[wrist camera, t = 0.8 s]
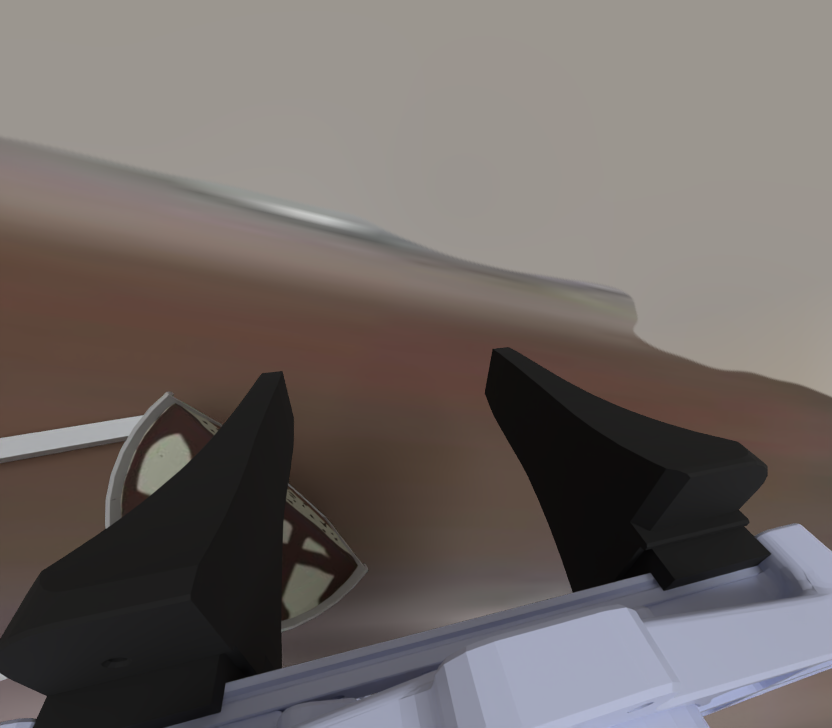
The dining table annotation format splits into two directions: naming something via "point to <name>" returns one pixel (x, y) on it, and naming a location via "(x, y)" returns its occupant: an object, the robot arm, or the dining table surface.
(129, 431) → the grey flat tray
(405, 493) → the dining table surface
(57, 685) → the robot arm
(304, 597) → the food container
